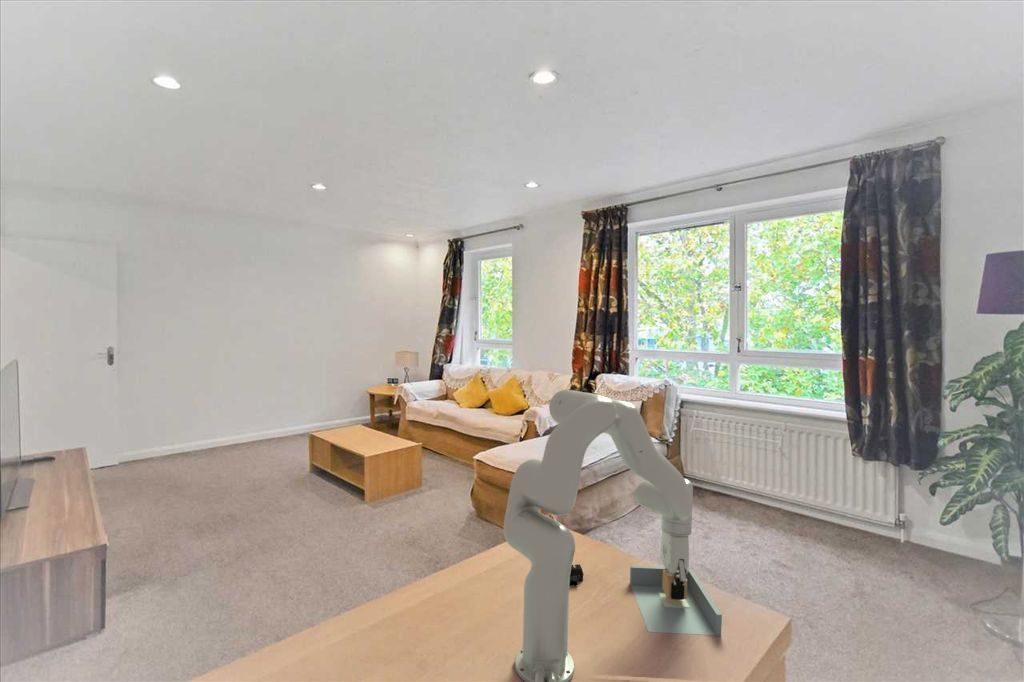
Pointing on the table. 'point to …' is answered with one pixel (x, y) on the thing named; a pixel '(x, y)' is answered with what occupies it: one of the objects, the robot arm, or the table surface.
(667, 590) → the cube
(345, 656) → the table surface
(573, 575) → the black hollow angular block
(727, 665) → the table surface
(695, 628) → the grey blue tray
